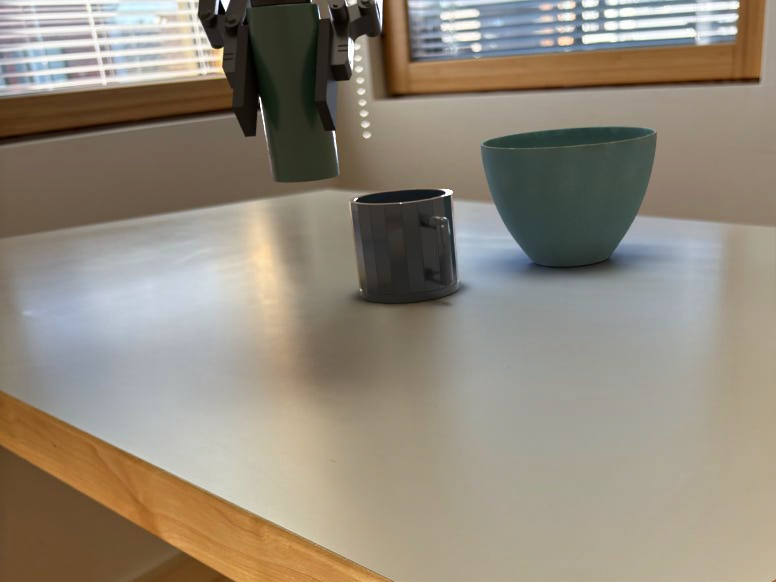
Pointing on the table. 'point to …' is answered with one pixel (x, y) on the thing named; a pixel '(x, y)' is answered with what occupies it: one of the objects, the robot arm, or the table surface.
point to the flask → (290, 89)
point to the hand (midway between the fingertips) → (284, 118)
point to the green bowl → (569, 189)
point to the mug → (405, 244)
